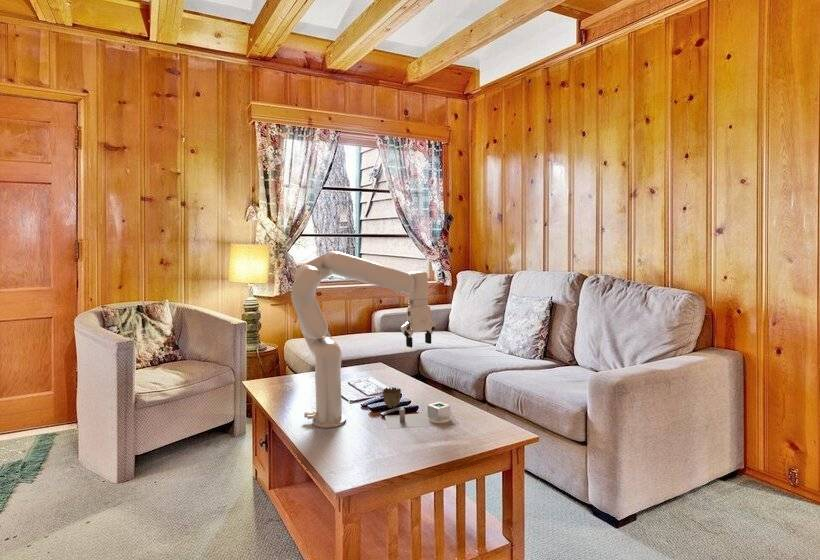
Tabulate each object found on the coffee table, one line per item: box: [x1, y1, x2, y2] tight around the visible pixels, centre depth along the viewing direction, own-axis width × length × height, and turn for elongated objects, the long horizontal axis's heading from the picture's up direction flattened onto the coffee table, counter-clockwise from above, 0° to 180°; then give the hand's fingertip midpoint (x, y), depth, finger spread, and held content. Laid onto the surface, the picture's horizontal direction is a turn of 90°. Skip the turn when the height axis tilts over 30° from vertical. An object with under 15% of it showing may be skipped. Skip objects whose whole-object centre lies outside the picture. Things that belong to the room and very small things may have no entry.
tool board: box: [384, 405, 460, 430], centre depth 190 cm, size 26×13×6 cm, turn 98°
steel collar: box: [427, 401, 451, 422], centre depth 191 cm, size 6×6×5 cm
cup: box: [382, 387, 402, 409], centre depth 206 cm, size 8×7×8 cm
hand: (418, 345), depth 203 cm, fingers open, 9 cm apart
